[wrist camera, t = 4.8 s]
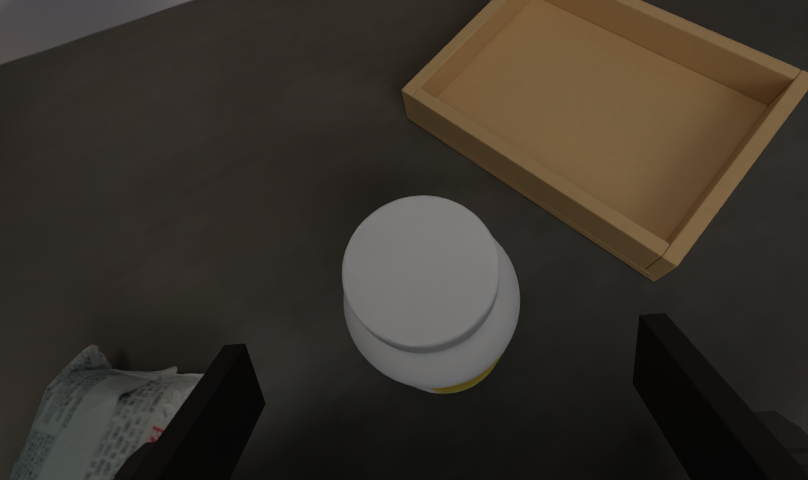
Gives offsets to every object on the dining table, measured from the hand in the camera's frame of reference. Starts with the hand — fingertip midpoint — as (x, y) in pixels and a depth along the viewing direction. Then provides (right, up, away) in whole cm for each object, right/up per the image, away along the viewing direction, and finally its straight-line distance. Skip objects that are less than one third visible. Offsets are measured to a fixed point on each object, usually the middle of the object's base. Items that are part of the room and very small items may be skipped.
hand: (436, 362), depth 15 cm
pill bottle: (+1, -1, +9) cm, 9 cm away
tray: (+10, +12, +12) cm, 20 cm away
